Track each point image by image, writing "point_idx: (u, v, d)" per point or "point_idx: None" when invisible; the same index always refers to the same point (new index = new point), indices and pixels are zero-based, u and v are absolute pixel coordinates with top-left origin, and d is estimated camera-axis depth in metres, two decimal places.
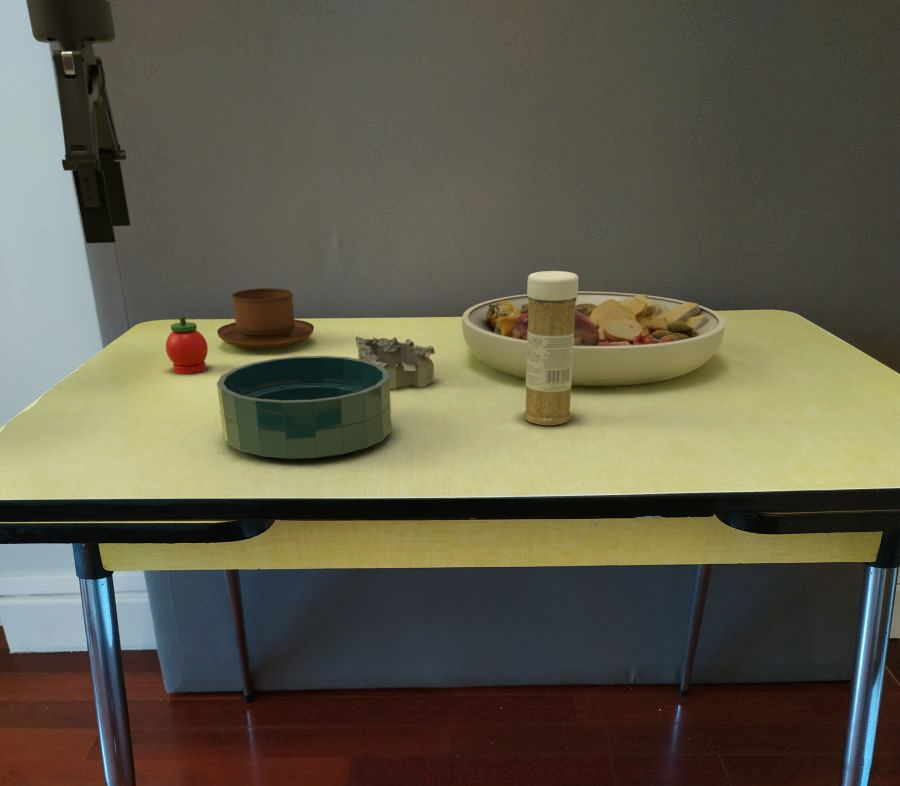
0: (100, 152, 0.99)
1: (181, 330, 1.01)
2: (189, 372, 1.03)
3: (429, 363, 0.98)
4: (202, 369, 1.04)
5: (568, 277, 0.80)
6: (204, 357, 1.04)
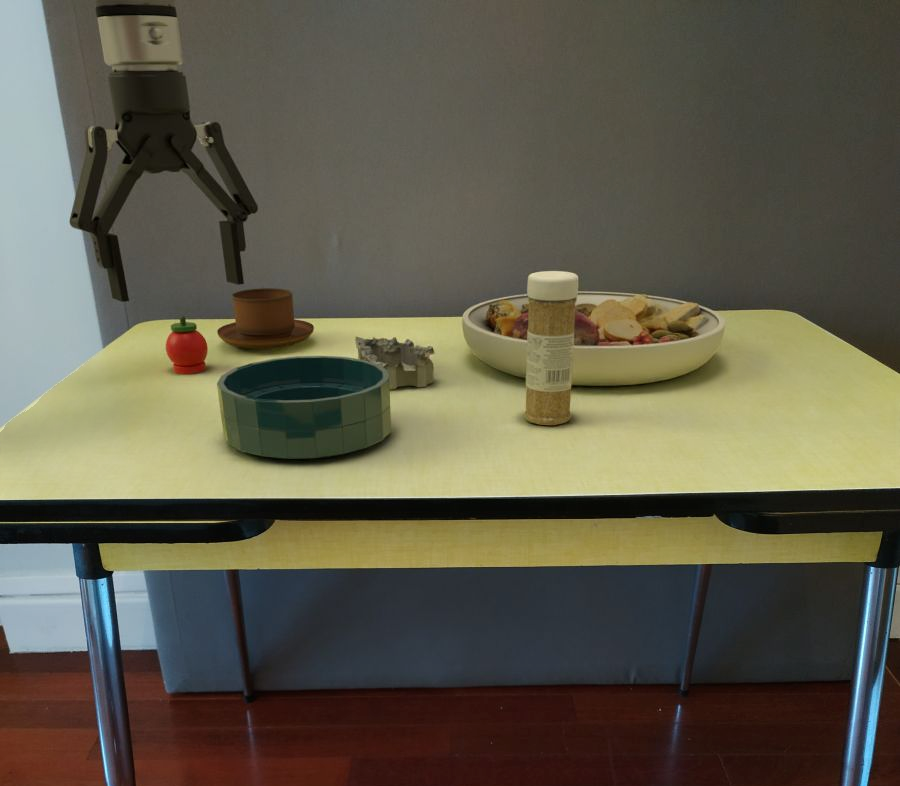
0: (227, 212, 1.01)
1: (181, 330, 1.01)
2: (189, 372, 1.03)
3: (429, 363, 0.98)
4: (202, 369, 1.04)
5: (568, 277, 0.80)
6: (204, 357, 1.04)
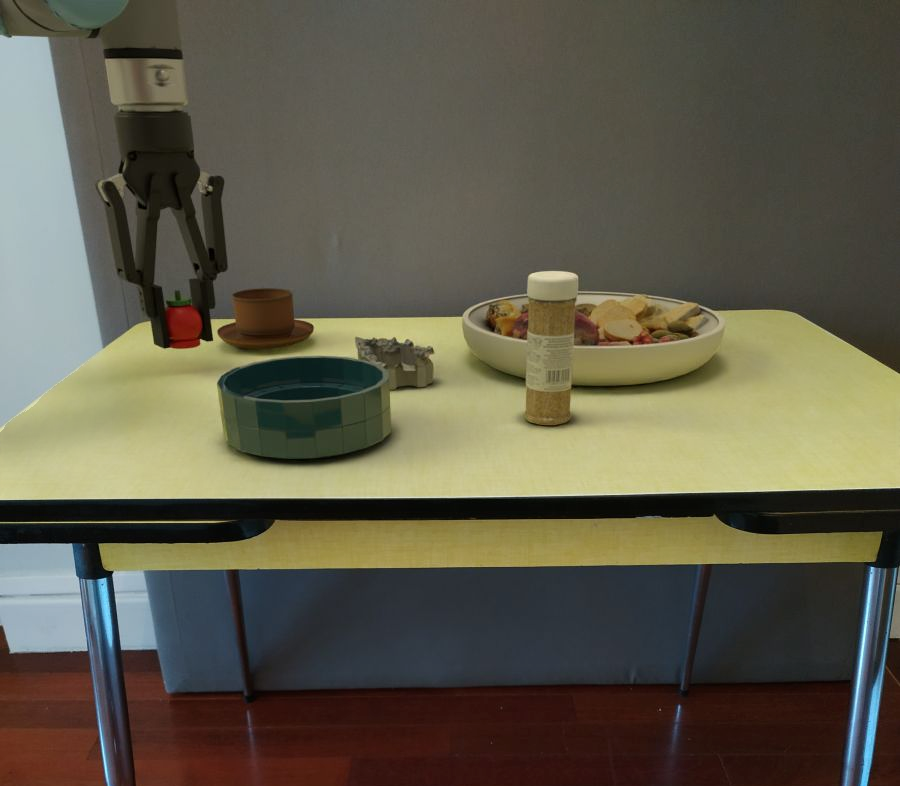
0: (198, 268, 1.02)
1: (175, 304, 1.00)
2: (183, 347, 1.02)
3: (429, 363, 0.98)
4: (196, 344, 1.03)
5: (568, 277, 0.80)
6: (199, 332, 1.02)
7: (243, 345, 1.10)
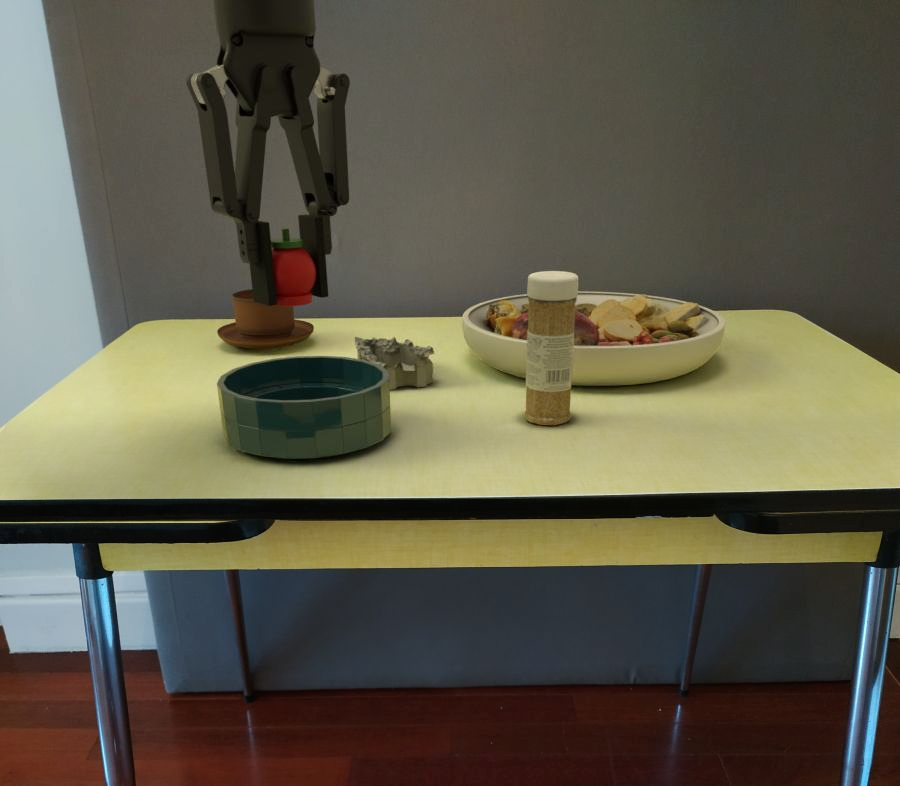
0: (311, 201, 0.78)
1: (285, 246, 0.76)
2: (293, 304, 0.78)
3: (428, 363, 0.98)
4: (309, 301, 0.79)
5: (568, 277, 0.80)
6: (312, 284, 0.78)
7: (243, 345, 1.10)
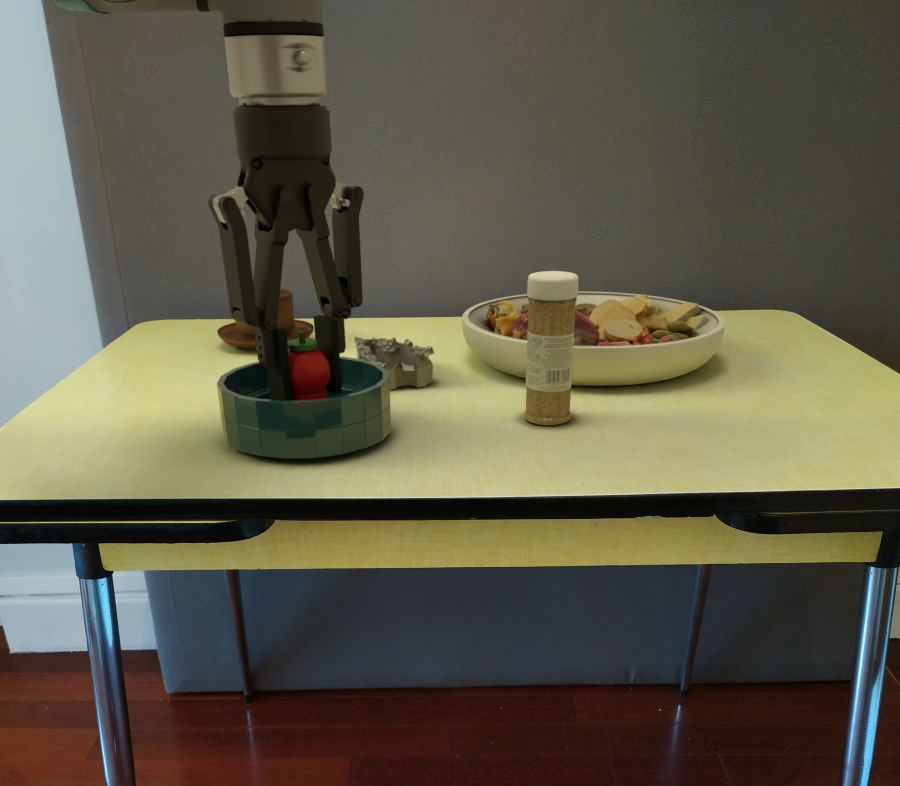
0: (326, 303, 0.81)
1: (301, 349, 0.79)
2: None
3: (428, 363, 0.98)
4: None
5: (568, 277, 0.80)
6: (327, 383, 0.81)
7: (243, 345, 1.10)
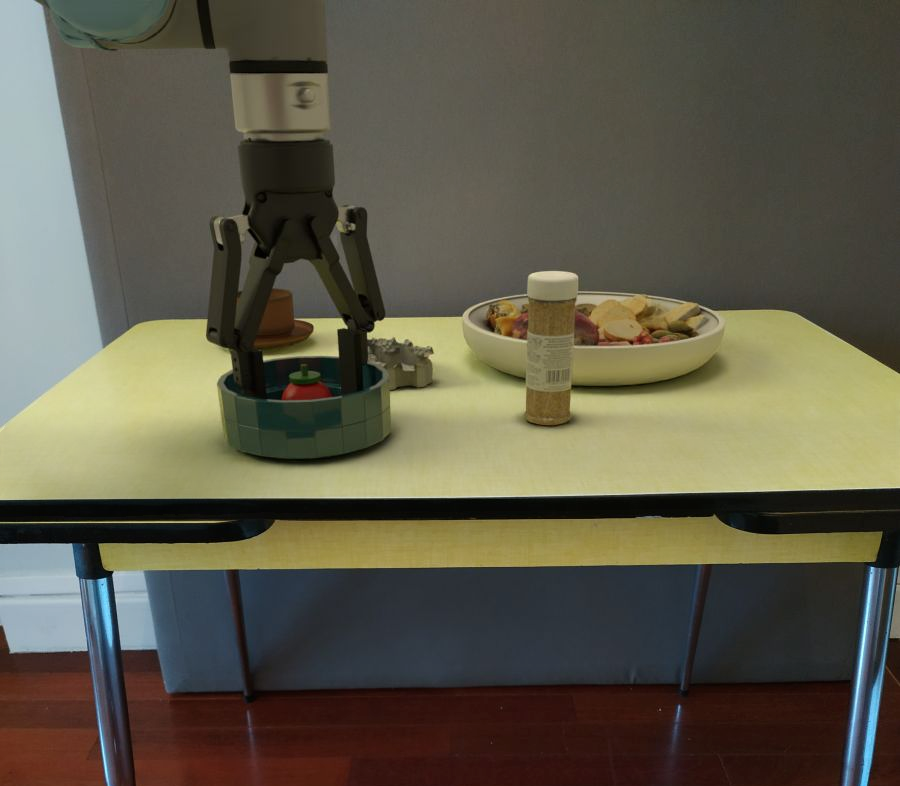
0: (349, 318, 0.83)
1: (304, 382, 0.80)
2: None
3: (428, 363, 0.98)
4: None
5: (568, 277, 0.80)
6: None
7: None
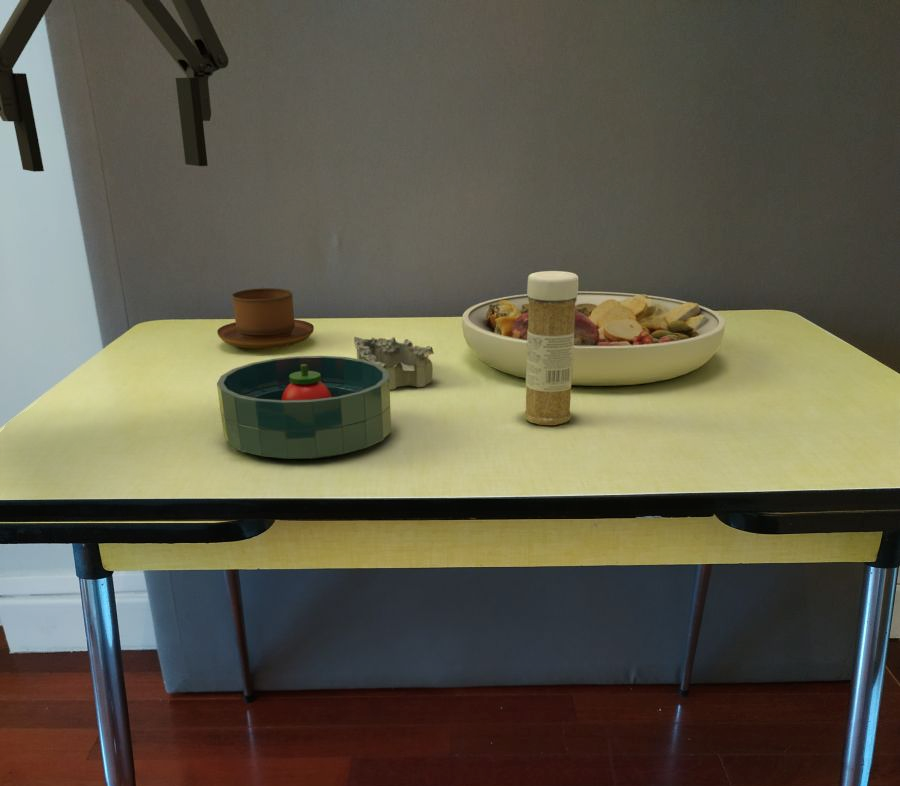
0: (187, 65, 0.75)
1: (304, 382, 0.80)
2: None
3: (428, 363, 0.98)
4: None
5: (568, 277, 0.80)
6: None
7: (243, 345, 1.10)
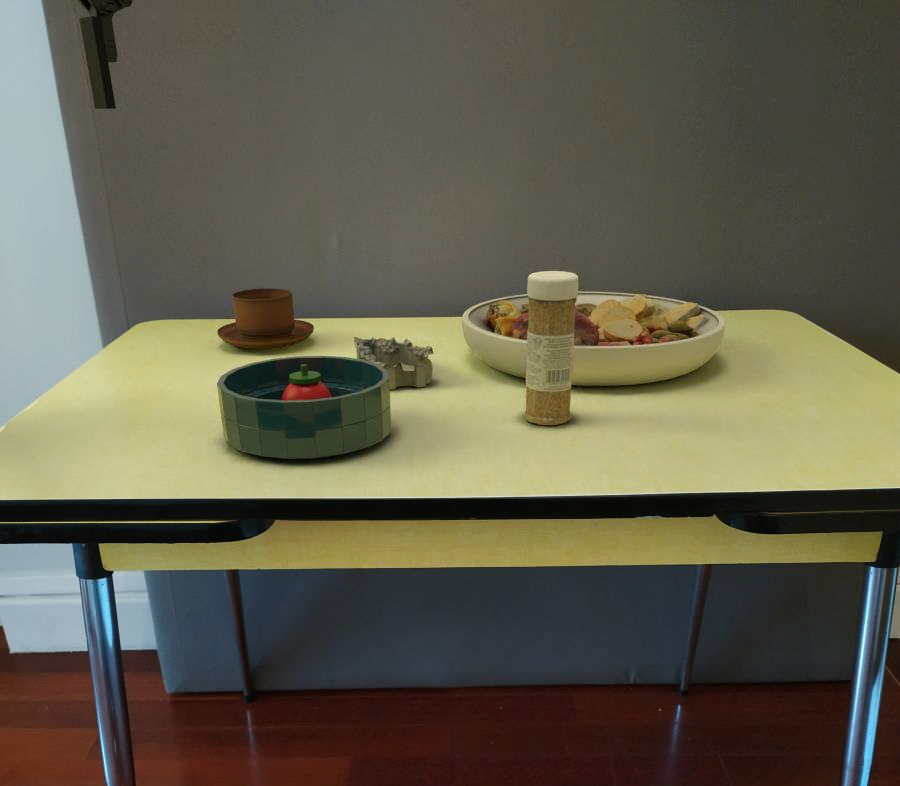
0: (89, 5, 0.74)
1: (304, 382, 0.80)
2: None
3: (428, 363, 0.98)
4: None
5: (568, 277, 0.80)
6: None
7: (243, 345, 1.10)
